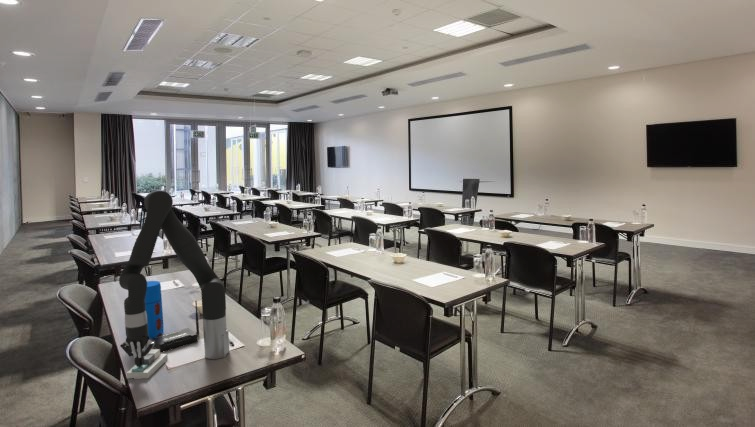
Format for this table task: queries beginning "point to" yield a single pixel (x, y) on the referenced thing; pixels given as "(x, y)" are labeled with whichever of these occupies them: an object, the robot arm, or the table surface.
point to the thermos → (154, 309)
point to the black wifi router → (177, 338)
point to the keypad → (148, 368)
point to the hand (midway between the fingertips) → (139, 365)
